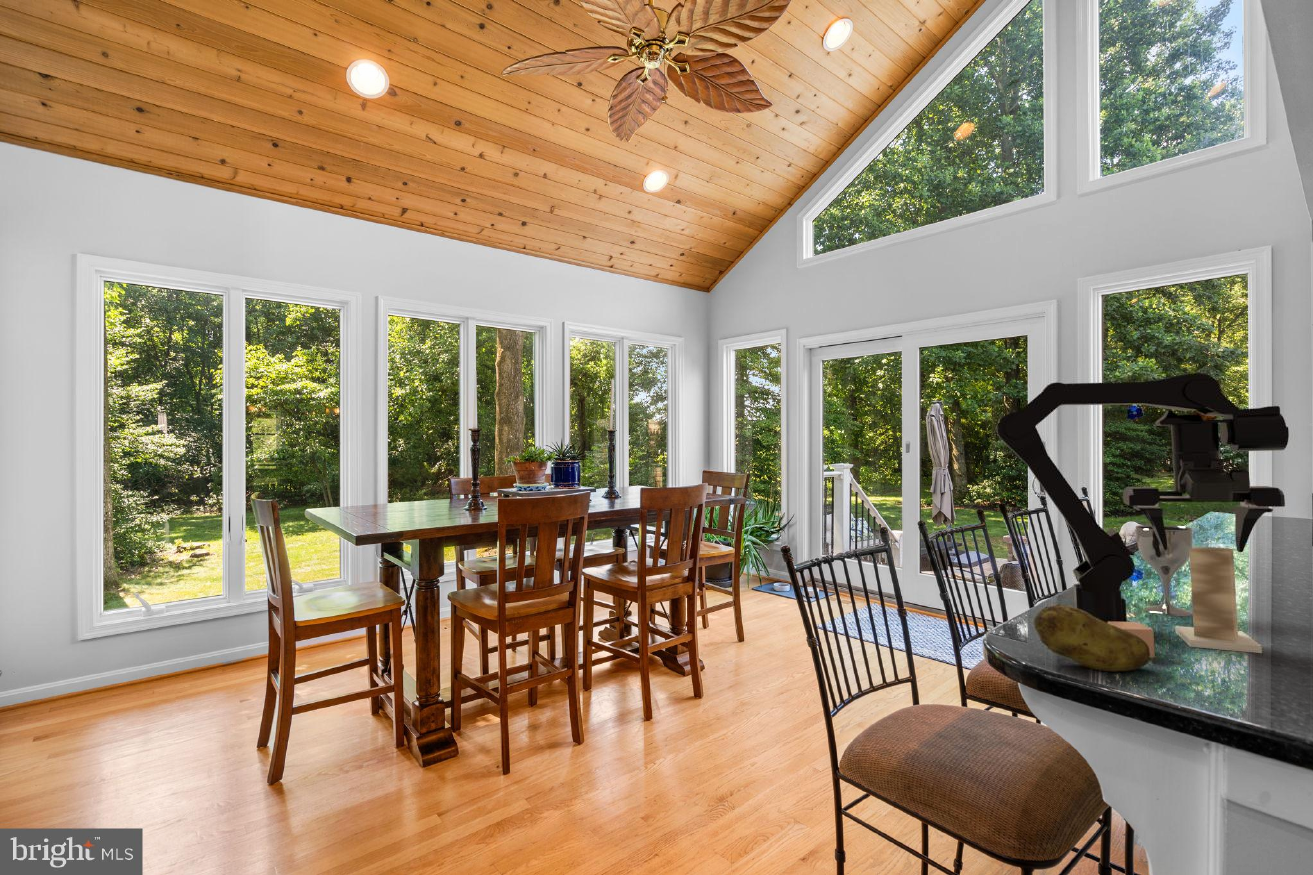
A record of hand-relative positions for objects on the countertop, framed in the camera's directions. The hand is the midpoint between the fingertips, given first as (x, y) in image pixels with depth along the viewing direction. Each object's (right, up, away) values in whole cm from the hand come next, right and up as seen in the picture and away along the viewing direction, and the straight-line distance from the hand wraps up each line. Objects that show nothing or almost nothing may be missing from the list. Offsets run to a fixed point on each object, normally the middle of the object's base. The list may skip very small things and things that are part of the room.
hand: (1201, 550), depth 99 cm
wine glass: (+5, -13, +13) cm, 19 cm away
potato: (-27, -14, -13) cm, 33 cm away
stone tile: (-2, -13, -5) cm, 14 cm away
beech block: (-2, -12, -5) cm, 13 cm away
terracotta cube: (-17, -14, -8) cm, 23 cm away
